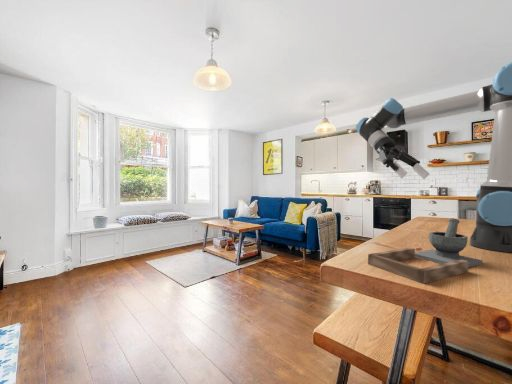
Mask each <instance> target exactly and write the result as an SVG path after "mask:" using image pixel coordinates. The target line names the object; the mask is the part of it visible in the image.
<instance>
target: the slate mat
mask: <svg viewBox="0 0 512 384" xmlns="http://www.w3.org/2000/svg"><path fill="white" fill-rule="evenodd" d="M435 251H436V249H435V248H433V249H428V250H422V251H417V252H416V251H415V258H418V259H421V260H425V261H428V262H432V263H436V264H439V265H440V264H444V263H449V262H453V261H457V260H466V261H468V268H470V267H474V266H479V265H482V264H483V260H482V259H479V258H478V259H477V258H473V257H468V256H464V255H461V254H459V258H447V257H441V256H438V255H436V254H435Z"/></svg>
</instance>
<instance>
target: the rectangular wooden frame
mask: <svg viewBox="0 0 512 384" xmlns="http://www.w3.org/2000/svg"><path fill="white" fill-rule="evenodd" d="M415 252H416V249H415V248H414V247H405V248H398V249H392V250H386V251H379V252H374V253H368V255H367V257H368V258H367V264H368V265H370V266H372V267H376V268H378V269H381V270H384V271H387V272H391V273H393V274H395V275H399V276H401V277H403V278H407V279H410V280H412V281H415V282H418V283H421V284H423V285H424V284H427V283H431V282H435V281H439V280H442V279H447V278H450V277H454V276H456V275H461V274H464V273H468V272H469V267H468V261H466V260H457V261H453V262H449V263H444V264H440V263H439V264H436V265H431V266H427V267H421V268H420V267H419V266H418V267H417V266H414V265H412V264H411V265H410V264H408V263H404V262H400V261H402V260H403V261H404V260H409V259H414V258H416V257H415Z"/></svg>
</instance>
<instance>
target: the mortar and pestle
mask: <svg viewBox="0 0 512 384" xmlns="http://www.w3.org/2000/svg"><path fill="white" fill-rule="evenodd" d="M459 223H460V220H459V219H457V218H449V219H448V225H447V228H446V231H445V232H444V231H432V232H428V238H429V242H430V244H431V246H432V247H433V249H434V250H436V251H435V254H436V255H438V256H441V257H447V258H459V255H460V252H462V251H463V250H464V249H465V248H466V247H467V244H468V236H467V235H464V234H460V233H457V232H458V226H459Z"/></svg>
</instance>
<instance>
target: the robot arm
mask: <svg viewBox="0 0 512 384" xmlns="http://www.w3.org/2000/svg"><path fill="white" fill-rule="evenodd" d="M476 111H480V112H481V113H485V112H490V111H492V112H494V119H493V128H492V135H491V136H492V137H491V144H490V151H489V152H490V153H489V159H488V160H489V161H488V169H487V177H486V180H485V181H484V182H482V183H481V184H480V187H479V189H478V190H476V191H477V192H476V195H475V197H476V213H475V214H476V215H475V217H476V218H475V219H476V220H475V228H474V229H473V231H472V233H471V236H470V238H469V245H470V246H471V247H472V246H473V247H475V248H479V249H483V250H489V251H494V252H506V253H512V61H511V62H509V63H507V64H505V65H504V66H502V67H501V68H500V69H499V70H498V71H497V72H496V74H495V75H494V77H493V78H492V84H489V85H485V86H482V87H480V88H479V89H478V90H475V91H472V92H467V93H463V94H458V95H454V96H450V97H445V98H442V99H437V100H433V101H430V102H424V103H420V104H416V105H413V106H409V107H405V108H404V107H403V105H402V104H401V103H400V102H398V100H396V99H395V98H393V97H389V98H388V99H387V100H386V101H385V102H383V103H382V105H381V106H380V107H379V108H378V109H376V111H375V112H374V113H373V114H372V115H370V117H362V118H361V119H360V120H359V121H358V122H357V123H356V125H355V130H356V131H357V132H358V133H359V136H361V137H362V138H363V139H364V140H365V141H366V142H367V143H368V144H369V145H370V147H371V148H373V149H374V150H375V151H376V153H377V155H378V157H379V158H380V160H381V163H382V164H383V165H384V166H385V167H386V168H387V169H388V168H391V170H393V171H394V173H396V174H397V176H398V177H400V179H403V178H404V177H405V176H406V175H407V174H408V172H407V171H406V170H405V169H404V167H402V166H401V165H400V164H399V163H398V162H397V161H401V162H403V163H405V164H406V165H409V166H410V167H411V168H412V170H413V171H415V172H416V173H417V174H418V176H420V177H421V178H422V179H423V180H425V179H426V178H427V177H428V176H429V175H430V173H429V172H428V171H427V170H426V169H425V168H424V167H423V166H422V165H421V164H420V163H421V161H420V160H419V159H416V157H414V156H412V155H410V154H409V153H407V152H405V151H404V150H403V149H402V148H397V147H395V145H396V142H395V140H394V139H392V138H391V137H390V136H389V135H388V134H387V133H386V132H385V131H383V129H384V128H385V127H388V128H390V129H398V128H400V127H401V126H405V125H410V124H415V123H420V122H424V121H430V120H434V119H439V118H446V117H450V116H456V115H461V114H466V113H470V112H476ZM394 159H395V160H397V161H394Z"/></svg>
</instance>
